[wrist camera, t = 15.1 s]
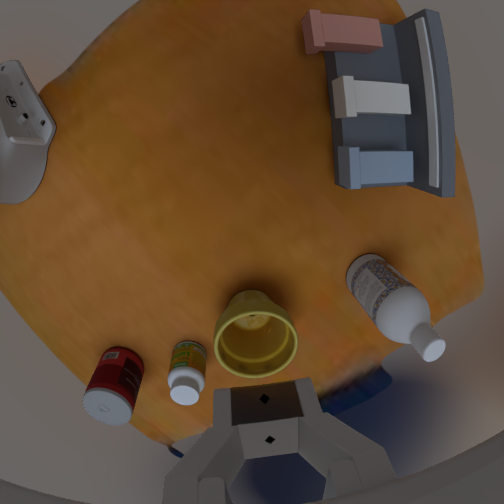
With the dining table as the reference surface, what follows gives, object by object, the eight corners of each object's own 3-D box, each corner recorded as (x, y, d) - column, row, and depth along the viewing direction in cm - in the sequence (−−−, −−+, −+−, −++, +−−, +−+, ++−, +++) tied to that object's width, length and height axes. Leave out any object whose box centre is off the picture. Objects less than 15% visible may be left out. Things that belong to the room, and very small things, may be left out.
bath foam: (393, 273, 47) (467, 343, 29) (361, 302, 49) (422, 386, 30) (370, 243, 45) (448, 310, 27) (336, 275, 47) (396, 358, 28)
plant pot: (265, 263, 45) (276, 296, 36) (296, 318, 48) (311, 357, 39) (201, 297, 46) (196, 335, 37) (237, 347, 49) (239, 389, 40)
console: (335, 183, 42) (372, 201, 31) (320, 27, 34) (352, -6, 23) (404, 180, 42) (454, 196, 31) (392, 34, 35) (438, 12, 23)
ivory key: (335, 118, 35) (347, 116, 31) (331, 81, 33) (343, 75, 29) (395, 119, 35) (411, 118, 31) (392, 84, 34) (407, 80, 30)
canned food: (95, 365, 49) (76, 409, 39) (112, 337, 47) (91, 381, 37) (133, 387, 51) (120, 432, 41) (152, 360, 49) (140, 408, 39)
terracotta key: (305, 54, 32) (314, 45, 28) (301, 20, 30) (309, 9, 27) (369, 57, 32) (383, 50, 28) (364, 24, 31) (377, 15, 27)
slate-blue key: (339, 184, 38) (351, 189, 34) (337, 146, 36) (349, 147, 32) (397, 180, 38) (413, 185, 34) (396, 145, 36) (412, 147, 33)
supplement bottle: (190, 334, 48) (185, 375, 39) (213, 355, 50) (212, 398, 41) (166, 350, 49) (156, 392, 40) (188, 371, 51) (184, 413, 41)
